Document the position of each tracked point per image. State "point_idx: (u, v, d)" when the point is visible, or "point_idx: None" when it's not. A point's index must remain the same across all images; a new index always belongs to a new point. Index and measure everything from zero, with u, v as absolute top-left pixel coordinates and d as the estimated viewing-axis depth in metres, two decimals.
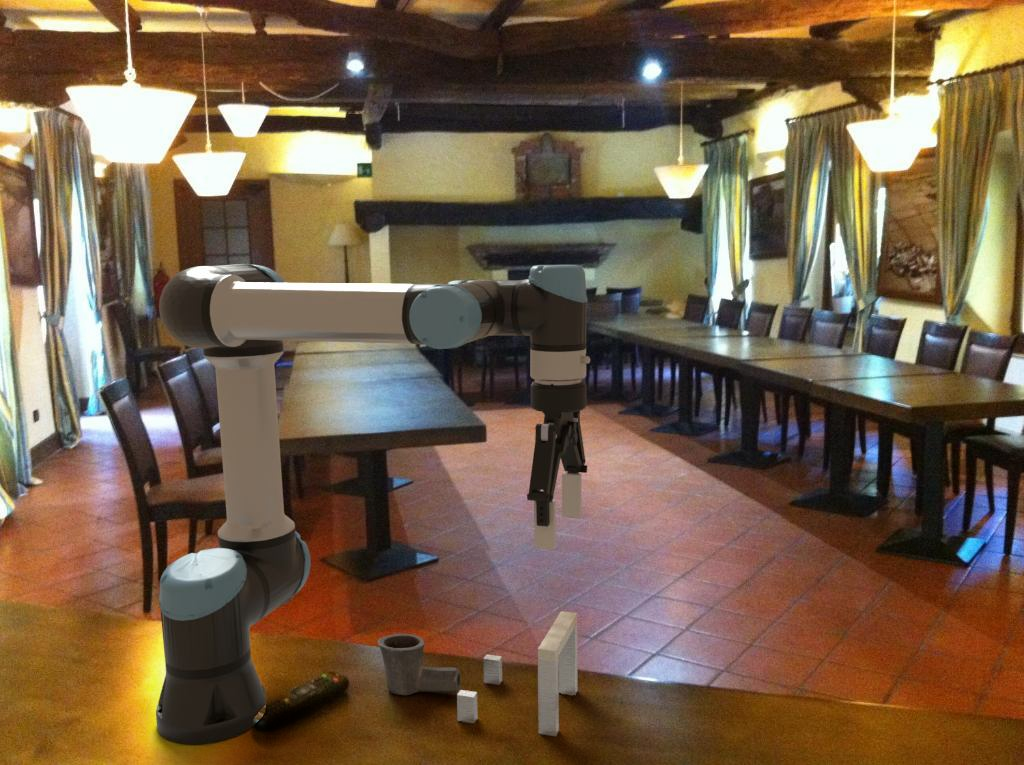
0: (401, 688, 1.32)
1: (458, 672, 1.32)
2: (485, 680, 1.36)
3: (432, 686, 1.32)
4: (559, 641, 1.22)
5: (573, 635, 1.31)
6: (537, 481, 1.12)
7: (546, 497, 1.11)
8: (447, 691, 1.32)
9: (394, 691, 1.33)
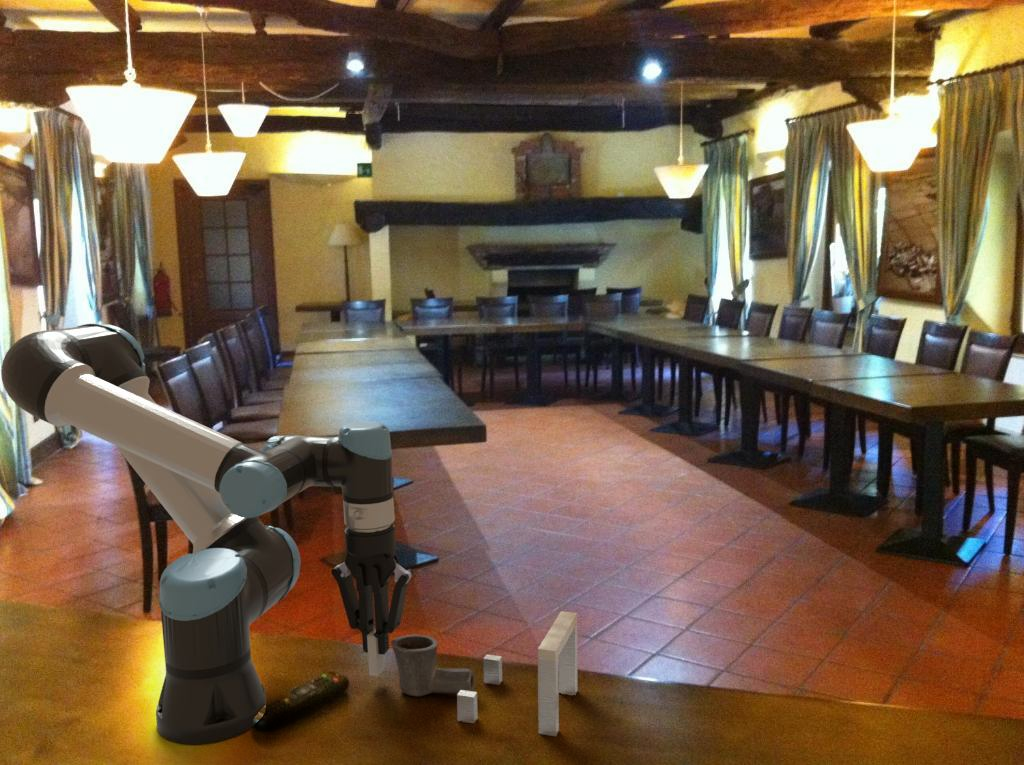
0: (414, 689, 1.32)
1: (471, 673, 1.32)
2: (485, 680, 1.36)
3: (445, 687, 1.31)
4: (559, 641, 1.22)
5: (573, 635, 1.31)
6: None
7: (350, 626, 1.35)
8: None
9: (407, 692, 1.32)
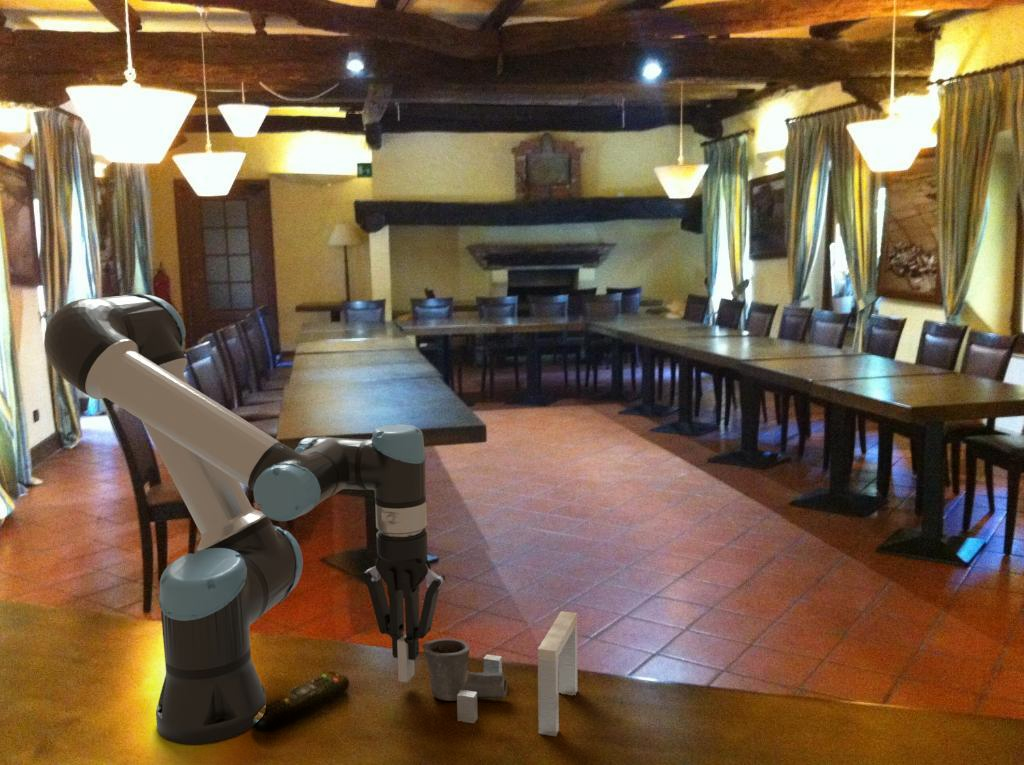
0: (447, 694, 1.30)
1: (504, 677, 1.31)
2: None
3: (478, 691, 1.30)
4: (559, 641, 1.22)
5: (573, 635, 1.31)
6: None
7: (380, 631, 1.33)
8: (494, 696, 1.30)
9: (439, 697, 1.31)
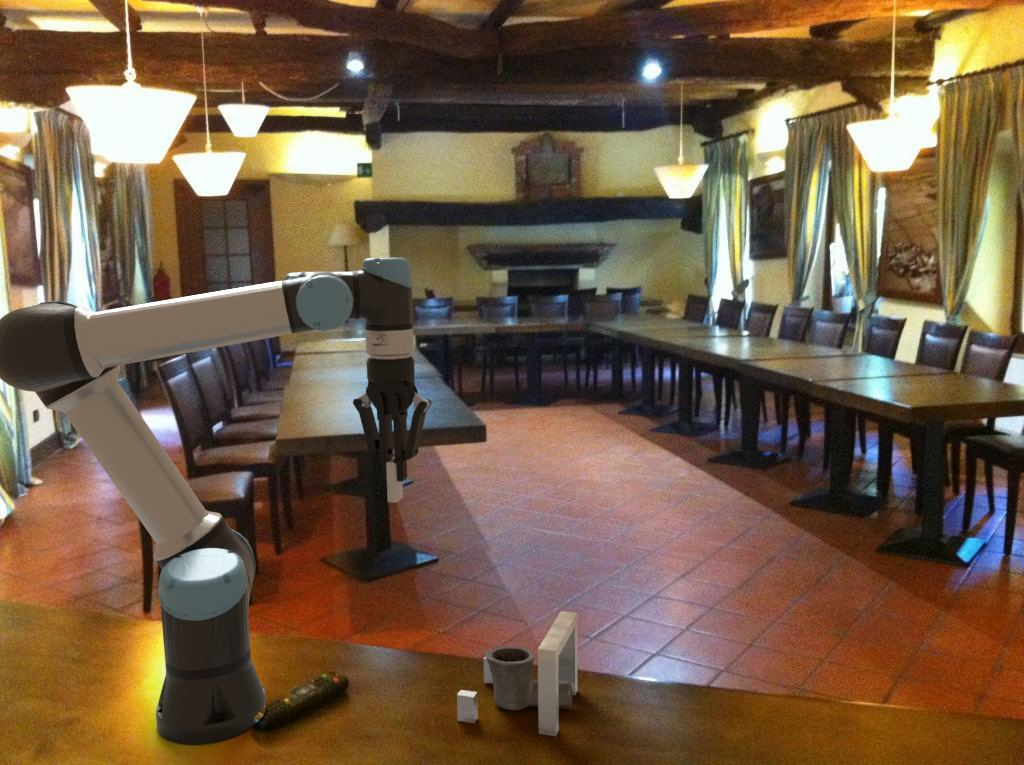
0: (512, 703, 1.27)
1: (570, 685, 1.28)
2: (485, 680, 1.36)
3: None
4: (559, 641, 1.22)
5: (573, 635, 1.31)
6: None
7: (370, 455, 1.42)
8: (560, 705, 1.27)
9: (504, 706, 1.28)
